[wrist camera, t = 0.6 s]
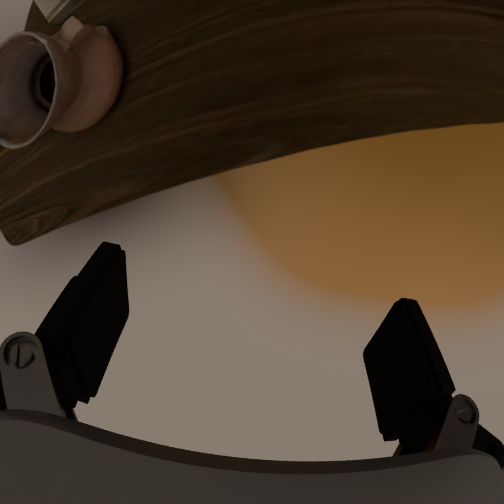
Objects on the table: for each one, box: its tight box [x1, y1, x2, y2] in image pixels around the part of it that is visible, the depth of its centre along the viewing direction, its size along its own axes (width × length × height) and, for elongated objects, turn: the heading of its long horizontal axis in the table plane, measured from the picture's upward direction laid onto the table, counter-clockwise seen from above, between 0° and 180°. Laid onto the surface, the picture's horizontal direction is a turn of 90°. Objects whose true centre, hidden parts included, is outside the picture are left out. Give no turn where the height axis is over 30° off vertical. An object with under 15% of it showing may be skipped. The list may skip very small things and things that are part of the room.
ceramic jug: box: [0, 16, 123, 149], centre depth 25 cm, size 18×14×14 cm
